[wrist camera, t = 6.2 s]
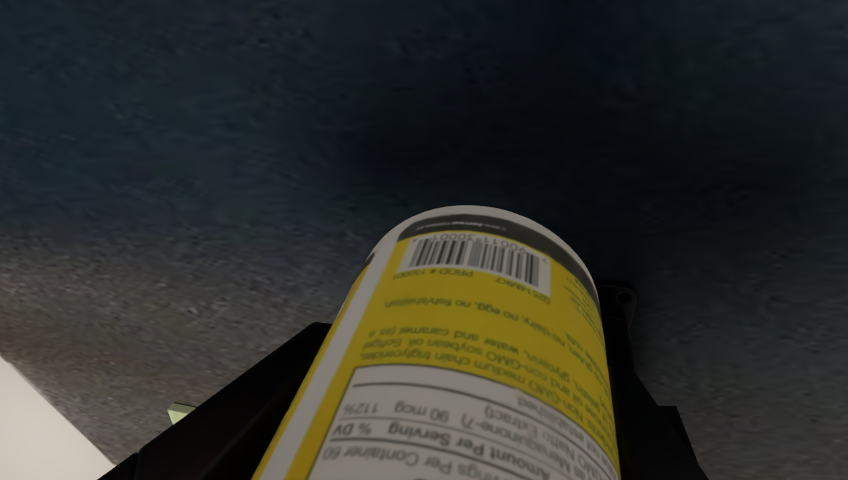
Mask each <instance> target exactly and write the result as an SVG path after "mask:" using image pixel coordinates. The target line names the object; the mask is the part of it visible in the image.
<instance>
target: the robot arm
mask: <svg viewBox="0 0 848 480" xmlns="http://www.w3.org/2000/svg"><path fill="white" fill-rule="evenodd" d="M593 282H594V285H595V288H596V291H597V294H598V299H599V304H600V311H601V318H602V328H603V334H604V341H605V350H606V359H607V367H608V373H609V381H610V389H611V398H612V406H613V414H614V421H615V430H616V440H617V448H618V455H619V464H620V473H621V480H709V479H708V478H707V476H706V475H705V473H704V472H703V471H702V469H701V468H700V466H699V465H698V462H697V459H696V457H695V454H694V452H693V449H692V446H691V444H690V441H689V439H688V436H687V433H686V431H685V428H684V425H683V423H682V420H681V418H680V415H679V412H678V410H677V407H676V406H658V405H657V404H656V402H655V401H654V399H653V398H652V396H651V395H650V394H649V392H648V391H647V389H646V388H645V386H644V385H643V383H642V382H641V380H640V379H639V378H638V376H637V375H636V370H635V364H634V359H633V353H632V347H631V342H630V336H629V333H630V329H631V325H632V320H633V316H634V311H635V307H636V303H637V293H636V289H635V288H634V286H633V285H631V284H630V283H626V282H620V281H610V280H601V279H593ZM620 293H627V294H629V295H628V296H627V297H624V298H621V297H618V295H619V294H620ZM332 325H333V324H328V323H321V322H314V323H312V324H310V325H309V326H308V327H306V328H305V329H304V330H302V331H301V332H299V333H298V334H297V335H295V336H294V337H293V338H291V339H290V340H288V341H287V342H286V343H284V344H283V345H282V346H280V347H279V348H278V349H276V350H275V351H273V352H272V353H271V354H269V355H268V356H267V357H265V358H264V359H262V360H261V361H260V362H258V363H257V364H256V365H254V366H253V367H252V368H250V369H249V370H247V371H246V372H245V373H243V374H242V375H241V376H239V377H238V378H237V379H235V380H234V381H232V382H231V383H230V384H228V385H227V386H226V387H224V388H223V389H221V390H220V391H219V392H217V393H216V394H215V395H213V396H212V397H211V398H209V399H208V400H206V401H205V402H204V403H202V404H201V405H200V406H198V407H197V408H195V409H194V410H193V411H191V412H190V413H189V414H187V415H186V416H185V417H183V418H182V419H180V420H179V421H178V422H176V423H175V424H174V425H172V426H171V427H169V428H168V429H167V430H165V431H164V432H163V433H161V434H160V435H159V436H157V437H156V438H154V439H153V440H152V441H150V442H149V443H148V444H146V445H145V446H143V447H142V448H141V449H140V450H139V453H134V454H132V455H131V456H130V457H128V458H127V459H125V460H124V461H123V462H121V463H120V464H119V465H117V466H116V467H115V468H113V469H112V470H110V471H109V472H107V473H106V474H105V475H103V476H102V477H100V478H99V479H98V480H251V479H252V477H253V475H254V473H255V471H256V469H257V467H258V466H259V464H260V462H261V460H262V458H263V456H264V454H265V452H266V451H267V449H268V447H269V445H270V443H271V441H272V439H273V437H274V435H275V434H276V432H277V430H278V428H279V426H280V424H281V422H282V420H283V418H284V416H285V414H286V413H287V411H288V409H289V407H290V405H291V403H292V401H293V400H294V398H295V396H296V394H297V392H298V390H299V388H300V386H301V384H302V382H303V380H304V378H305V376H306V375H307V373H308V371H309V369H310V367H311V365H312V363H313V361H314V359H315V357H316V355H317V353H318V351H319V350H320V348H321V346H322V344H323V342H324V340H325V338H326V336H327V334H328V332H329V330H330V328H331V327H332Z"/></svg>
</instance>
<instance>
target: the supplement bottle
mask: <svg viewBox="0 0 848 480" xmlns="http://www.w3.org/2000/svg"><path fill="white" fill-rule="evenodd" d="M251 480H621V473H620V464H619V455H618V448H617V440H616V430H615V421H614V414H613V406H612V398H611V389H610V381H609V373H608V367H607V359H606V350H605V341H604V334H603V328H602V318H601V311H600V304H599V299H598V294H597V291H596V288H595V285H594V282H593V279H592V277H591V275H590V273H589V271H588V269H587V268H586V266H585V264H584V263H583V261H582V260H581V259H580V258H579V256H578V255H577V254H576V253H575V252H574V251H573V250H572V249H571V248H570V247H569V246H568V245H567V244H566V243H565V242H564V241H563V240H562V239H560V238H559V237H558V236H557V235H555V234H554V233H552V232H551V231H550V230H548V229H547V228H545V227H543V226H542V225H540V224H538V223H536V222H534V221H532V220H530V219H528V218H526V217H524V216H521V215H518V214H516V213H513V212H509V211H506V210H502V209H498V208H492V207H485V206H474V205H462V206H448V207H443V208H438V209H433V210H429V211H426V212H423V213H421V214H418V215H416V216H413V217H411V218H409V219H407V220H405V221H404V222H402V223H401V224H399V225H397V226H396V227H395V228H393V229H392V230H391V231H390V232H388V233H387V234H386V235H385V236H384V237H383V238H382V239H381V240H380V241H379V243H378V244H377V245H376V246H375V247H374V249H373V250H372V252H371V253H370V255H369V257H368V258H367V260H366V262H365V263H364V265H363V267H362V268H361V270H360V272H359V274H358V276H357V278H356V280H355V282H354V284H353V286H352V288H351V289H350V291H349V293H348V296H347V298H346V300H345V302H344V303H343V305H342V307H341V309H340V311H339V313H338V315H337V317H336V319H335V321H334V323H333V325H332V327H331V328H330V330H329V332H328V334H327V336H326V338H325V340H324V342H323V344H322V346H321V348H320V350H319V351H318V353H317V355H316V357H315V359H314V361H313V363H312V365H311V367H310V369H309V371H308V373H307V375H306V376H305V378H304V380H303V382H302V384H301V386H300V388H299V390H298V392H297V394H296V396H295V398H294V400H293V401H292V403H291V405H290V407H289V409H288V411H287V413H286V414H285V416H284V418H283V420H282V422H281V424H280V426H279V428H278V430H277V432H276V434H275V435H274V437H273V439H272V441H271V443H270V445H269V447H268V449H267V451H266V452H265V454H264V456H263V458H262V460H261V462H260V464H259V466H258V467H257V469H256V471H255V473H254V475H253V477H252V479H251Z"/></svg>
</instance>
